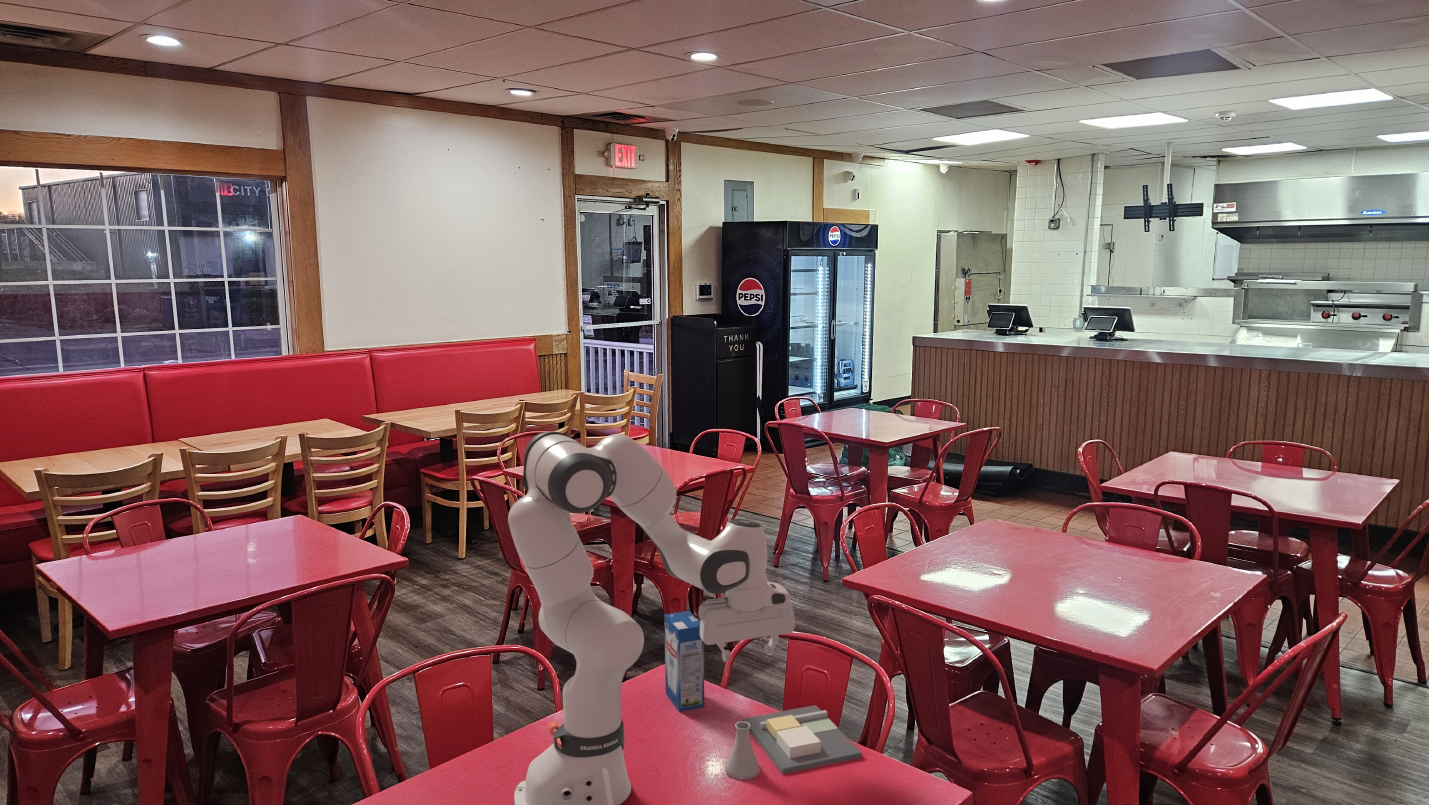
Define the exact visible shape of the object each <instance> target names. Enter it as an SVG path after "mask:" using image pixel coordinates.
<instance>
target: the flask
mask: <svg viewBox="0 0 1429 805" xmlns="http://www.w3.org/2000/svg"><path fill="white" fill-rule="evenodd" d="M734 727H735V730H736V732H735V733H736V734H735V740H734V744H733V747H732V749H731V752H730V755H729V757H728V760H727V763H726V765H725V771H726V776H728V777H732V778H733V779H737V780H749V779H755V778H756V777H757V776H758V775H759V774H760V773H761V772H762V771H761V769H760V768H761V767H760V766H759V762H758V759H757V756H756V754H755V752H754V748H753V746H752V742H751V736H750V732H749V729H750V728H751V726H750V723H748V722H745V721H743V720H742V721H737V722H735V724H734Z"/></svg>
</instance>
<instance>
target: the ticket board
mask: <svg viewBox="0 0 1429 805" xmlns="http://www.w3.org/2000/svg"><path fill="white" fill-rule="evenodd" d="M788 715H792V716H793V717H794V718H795V719H796V720H797V721H798V722H799V724H800V725H801V727H797V728H792V729H787V730H782V731H777V737H776V739H775V738H774V737H773V735H772V734H771V733H770V732H769V730H768V729H767V719H772V718H777V717H783V716H788ZM742 721H745V722H748V723H750V726H751V728H750V729H749V734H751V736H752V737H753V738H754V740H756V742H757V744H759V746H760V747H761V749H762V750H763V751H764V752H765V754H766V755H767V756H768V758H769V759H770V760H771V762H772V763H773V764H774V765H775V767H776V768H777V769H778V770H779V772H780V773H781V775H785V774H791V773H795V772H800V771H803V770H804V771H806V770H811V769H814V768H819V767H820V768H821V767H824V766H829V765H834V764H838V763H839V764H840V763H843V762H848V761H852V760H858V759H862V757H863V756H862V754H863V753H862V751H861V750H860V749H859V748H858V747H857V746H856V745H855V744H854V742H852V743H850V741H851V740H850V739H849V738H848V737H847V736H846V734H845V733H844V732H843V731H842V730H840V729H839V727H837V725H835V723H834V722H833V721H832V720H831V719H830V718H829V717H828V711H827V710H826V709H824V710H821V708H819V707H818V706H817V705H815V704H814V705H810V706H804V707H798V708H792V709H787V710H782V711H777V712H771V713H770V712H769V713H765V714H760V715H755V716H749V717H743V718H742ZM839 737H840V738H841V739H840V738H839ZM843 739H845V740H843ZM847 740H848V741H847Z"/></svg>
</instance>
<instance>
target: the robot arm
mask: <svg viewBox="0 0 1429 805" xmlns="http://www.w3.org/2000/svg"><path fill="white" fill-rule="evenodd" d="M522 462H523V466H522V467H523V472H522V483H521V484H522V486H523V488H525V490H526V491H527V492H526V494H525V495H523V496H522V497H520V498H519V499H518V500H517V501H516V502H515V503H513V504H512V506H511V508H510V509H509V512H508V517H507V524H508V527H509V530H510V535H511V538H512V540H513V543H514V546H515V549H516V552H517V554H518V556H519V558H520V561H521V563H522V564H523V566H524V568H525V570H526V572H527V574H528V576H529V579H530V580H531V582H532V584H533V587H534V588H535V590H536V592H537V595H538V598H539V602H540V605H541V606H540V607H539V612H538V625H539V628H540V629H541V632H543V633H544V634H545V635H546V637H548V639H549V640H550V641H551V642H552V643H554V644H555V645H556V646H558V647H560V648H561V649H563V650H565V651H566V652H569V653H571V654H572V655H573V656H574V658H575V662H576V668H575V672H574V675H573V676H571V677H570V678H569V679H568V680H567V681H566V683H565V684H564V686H563V689H562V706H563V707H562V708H563V723H561V725H560V726H559V724H558V723H557V721H551V722H550V723H549V724H548V725H547V726H548V727H547V728H548V731H549V734H550V735H551V736H553V743H552V744H551V745H550V746H549V747H548V748H546V749H545V750H544V751H543V752H541V753H540V754H539V755H538V756H536V757H535V758H533V760H532V761H531V762H530V764H529V765H528V768H527V771H526V777H525V780H523V781H520V782H519V783H518V785H516V787H515V790H514V795H513V796H514V797H513V805H621V804H623V803H624V802H625V801H626V800H627V799H628V798H629V797H630V794H631V791H632V784H631V781H630V779H629V776H628V771H627V766H626V762H625V756H624V749H625V739H626V738H625V725H624V721H623V719H622V695H621V694H622V684H623V680H624V677H625V673H626V670H628V669H629V668H631V667H632V666H633V665H634V664H635V663H636V661H638V659H639V658H640V656H641V655H642V652H643V648H644V643H645V635H644V631H643V629H642V627H641V625H640V624H639V623H637V621H636V620H634V618H632V617H631V616H630V615H629V614H627V613H626V612H625V611H623V610H622V609H619V608H616V607H614V606H613V605H610V604H608V603H606V602H604V601H602V600H601V599H600V598H598V597H597V596H596V594H595V593H594V591H593V590H592V586H591V581H592V580H593V577H594V569H595V568H594V566H593V563H592V561H591V559H590V556H589V555H588V553H587V550H586V548H585V547H584V544H583V542H582V540H581V537H580V536H579V534H578V531H577V530H576V527H575V526H574V524H573V522H572V518H571V513H572V514H583V513H584V514H585V513H587V512H589V511H592V510H594V509H596V508H597V507H598V506H600V504H602V503H603V502H604V501H605V499H607V498H610V499H611V500H612V502H613V503H614V504H615V505H616V506H617V507H618V508H619V510H621V511H622V512H623V513H624V514H625V515H626V516H628V517H629V518H630V519H631V520H632V521H634V522H635V523H637V524H638V525H639V527H640V528H641V530H643V532H645V535H647V536H648V538H649V539H650V540H651V541H652V543H653V544H654V545H655V547H656V548H657V550H658V552H659V555H660V558H661V563H662V565H663V567H664V569H665V571H666V572H667V574H669V575H670V576H671V577H673V578H675V579H678V580H681V581H683V582H686V583H689V584H690V585H692V586H694V587H696V588H698V589H701V590H702V591H705V592H707V593H709V594H712V595H718V594H722V593H725V597H719V598H715V599H711V598H710V599H706V600H705V601H703V602H702V603H701V604H700V605H699V607H698V617H699V619H700V620H699V621H700V637H701V639H702V641H703V642H704V645H707V646H710V645H717V647H718V648H719V650H720V651H721V658H722V660H723V662H729V661H732V658H731V657H732V653H731V651H730V650H729V649H727V650H726V649H725V647H727V646H726V644H727V643H730V642H736V641H737V642H738V641H743V640H752V639H758V638H766V637H770V639H769V641H768V643H767V644H766V643H765V644H764V653H765V655H766V656H771V655H774V654H775V646H776V645H777V644H778V641H779V640H780V638H779V635H786V634H791V633H793V631H794V629H796V620H795V610H794V608H793V606H792V604H791V603H790V601H791V594H790V592H788V590H787V589H786V588H785V587H784V586H783V585H782V584H780V583H777V582H773V581H768V576H767V573H766V567H767V565H768V564H767V563H768V547H767V537H766V533H765V530H764V528H763V526H762V525H761V524H760V523H759V522H756V521H753V520H750V519H744V518H733V519H729V520H728V521H727V522H726V524H725V528H724V529H722V531H721V532H720V533H719V534H718V535H717V536H716V537H714V538H713V539H712V540H710V539H707V538H705V537H704V538H703V537H701V536H700V535H698V534H697V533H695V532H692V531H689V530H687V529H684V528H682V527H681V526H680V525H679V523H678V522H677V521H676V520H675V518H674V517H673V515H672V514H671V513H670V512H671V510H672V509H673V508H674V505H675V502H676V499H677V487H676V486H675V484H674V482H673V480H672V478H671V476H670V475H669V474H668V472H667V471H666V470H665V469H664V467H662V465H661V464H660V463H659V462H658V461H657V460H656V458H654V456H653V455H652V454H651V453H650V452H649V451H647V449H645V448H644V447H643V446H642V445H641V444H639V443H638V442H637V441H635V440H634V439H633V438H632V437H630V436H629V435H626V434H623V433H615V434H610V435H608V436H605V437H604V438H602V439H601V440H600V441H599V442H598V443H597V444H596V445H594V446H592V447H587V446H584V444H581V443H580V442H579V441H577V440H575V439H573V438H572V437H571V436H570V435H568V434H566V433H564V432H559V431H545V432H542V433H541V432H540V433H538V434H536V435H535V436H534V437H532V439H530V441H529V442H528V443H527V445H526V447H525V450H524V454H523V459H522Z"/></svg>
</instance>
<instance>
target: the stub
mask: <svg viewBox="0 0 1429 805" xmlns="http://www.w3.org/2000/svg"><path fill="white" fill-rule="evenodd" d="M797 727H801V725H800V724H799V722H798V721H797V720H796V719H795V718H794V717H793V716H792V715H788V716H783V717H777V718H772V719H767V729H768V730H769V732H770V733H771V734H772V735H773V737H774V738H775V739H776V737H777V731H782V730H787V729H792V728H797Z"/></svg>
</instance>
